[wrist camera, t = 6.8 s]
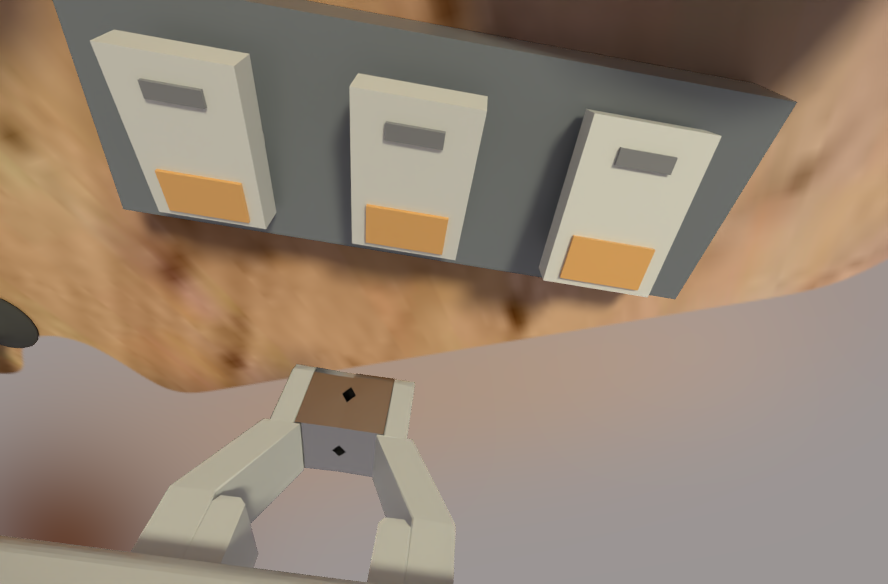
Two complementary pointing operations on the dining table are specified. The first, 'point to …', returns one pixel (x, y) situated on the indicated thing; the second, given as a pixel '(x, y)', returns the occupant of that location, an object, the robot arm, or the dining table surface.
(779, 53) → the dining table surface
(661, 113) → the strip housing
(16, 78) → the dining table surface
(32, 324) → the sundae
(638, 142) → the block
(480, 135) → the rocker
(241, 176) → the rocker
